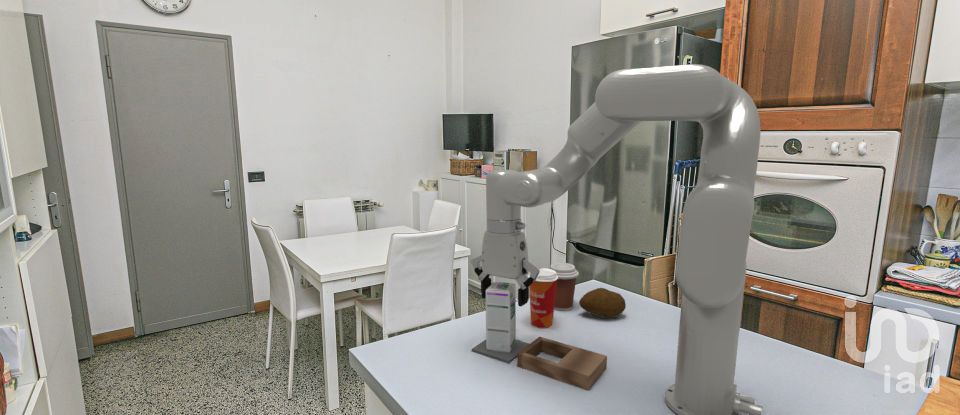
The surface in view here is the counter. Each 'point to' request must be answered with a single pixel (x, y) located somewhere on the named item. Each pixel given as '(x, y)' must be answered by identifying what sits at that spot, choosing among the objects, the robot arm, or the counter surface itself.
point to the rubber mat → (500, 355)
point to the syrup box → (500, 317)
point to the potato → (603, 303)
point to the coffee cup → (564, 285)
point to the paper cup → (543, 298)
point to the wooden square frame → (563, 362)
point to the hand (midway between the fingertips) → (504, 300)
